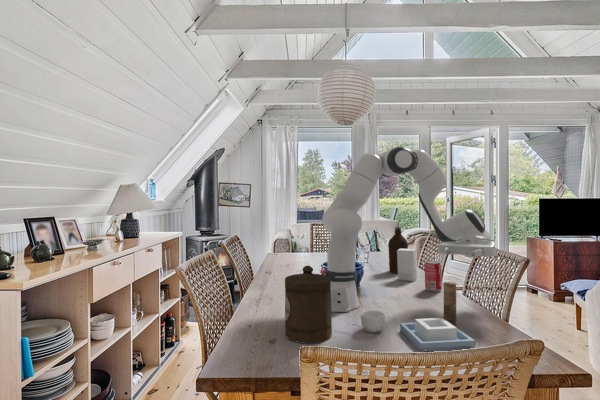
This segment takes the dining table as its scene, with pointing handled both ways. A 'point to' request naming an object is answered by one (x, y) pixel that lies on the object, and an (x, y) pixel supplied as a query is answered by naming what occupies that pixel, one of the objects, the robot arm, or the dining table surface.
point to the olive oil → (393, 246)
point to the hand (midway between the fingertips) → (460, 253)
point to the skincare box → (406, 264)
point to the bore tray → (436, 344)
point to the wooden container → (308, 307)
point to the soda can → (433, 276)
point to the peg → (450, 302)
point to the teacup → (372, 320)
